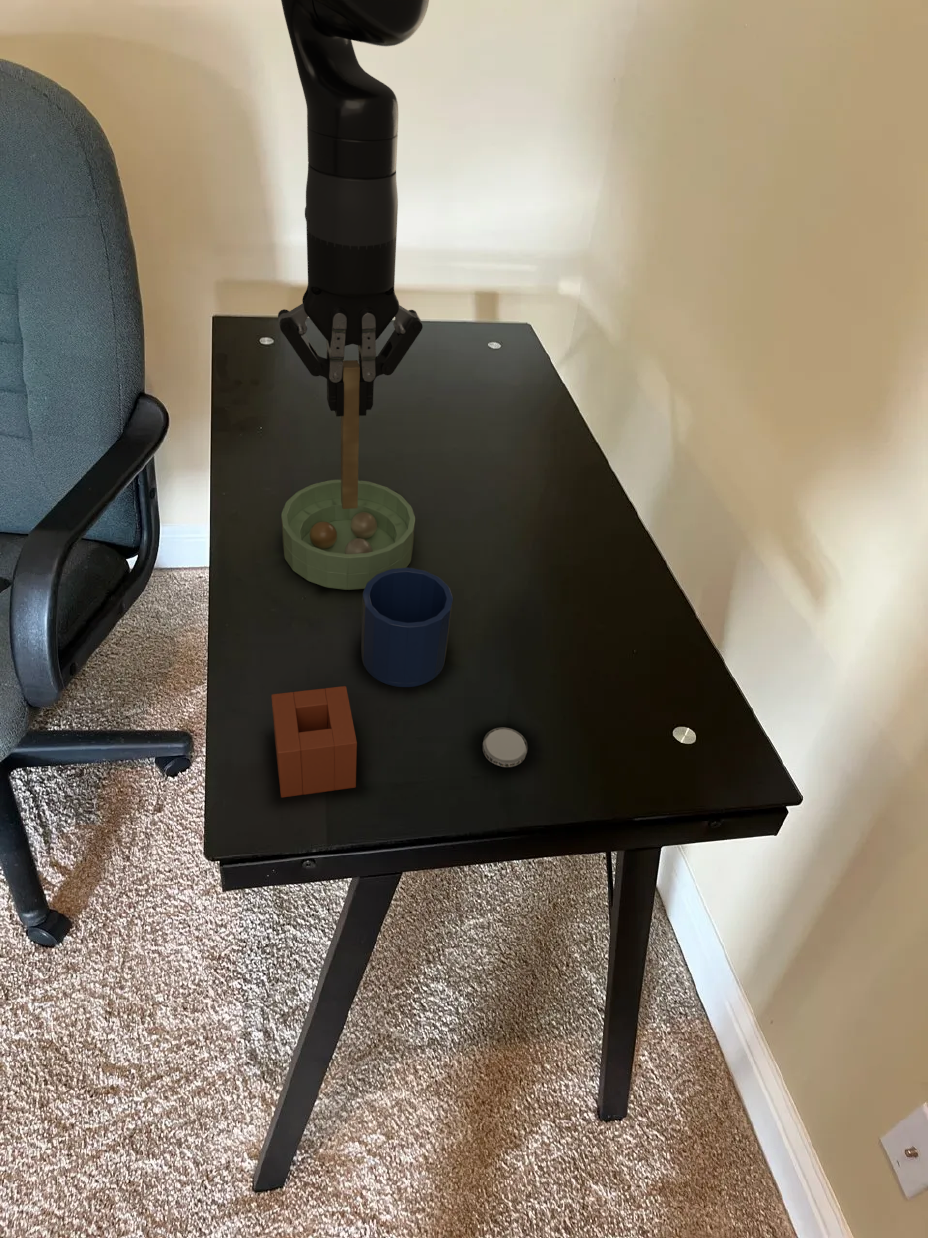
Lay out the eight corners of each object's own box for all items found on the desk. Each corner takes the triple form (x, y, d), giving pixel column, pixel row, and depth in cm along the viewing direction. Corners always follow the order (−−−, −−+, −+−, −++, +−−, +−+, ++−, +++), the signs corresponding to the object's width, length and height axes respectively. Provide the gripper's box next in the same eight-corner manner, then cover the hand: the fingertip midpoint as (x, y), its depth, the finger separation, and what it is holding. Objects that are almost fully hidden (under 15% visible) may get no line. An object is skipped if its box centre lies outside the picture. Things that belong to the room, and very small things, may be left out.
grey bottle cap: (534, 759, 74) (535, 755, 73) (494, 772, 72) (495, 767, 72) (514, 726, 76) (515, 722, 76) (475, 738, 75) (475, 734, 74)
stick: (342, 509, 87) (343, 367, 77) (340, 500, 89) (340, 359, 78) (357, 508, 88) (360, 367, 77) (355, 499, 89) (357, 359, 78)
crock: (368, 692, 78) (371, 630, 72) (355, 632, 83) (357, 571, 78) (453, 682, 80) (461, 622, 74) (435, 624, 85) (441, 564, 80)
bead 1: (311, 555, 91) (310, 533, 89) (308, 538, 93) (307, 516, 91) (338, 553, 91) (338, 531, 89) (335, 536, 93) (335, 515, 91)
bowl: (290, 599, 86) (288, 561, 83) (278, 518, 96) (276, 482, 92) (423, 588, 89) (426, 552, 86) (399, 511, 99) (401, 476, 96)
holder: (280, 798, 68) (277, 753, 64) (274, 739, 72) (271, 693, 68) (355, 787, 70) (356, 742, 66) (345, 731, 74) (345, 685, 70)
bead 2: (352, 545, 93) (352, 523, 91) (348, 529, 95) (348, 507, 93) (378, 543, 93) (379, 521, 91) (374, 527, 95) (375, 505, 93)
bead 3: (346, 572, 89) (346, 550, 87) (342, 555, 91) (343, 533, 89) (374, 570, 90) (375, 548, 88) (369, 553, 92) (370, 531, 90)
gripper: (271, 240, 65) (282, 434, 77) (441, 243, 68) (426, 429, 80) (264, 208, 70) (275, 395, 82) (422, 213, 73) (411, 391, 85)
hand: (350, 411), depth 81 cm, fingers closed on stick, 1 cm apart
